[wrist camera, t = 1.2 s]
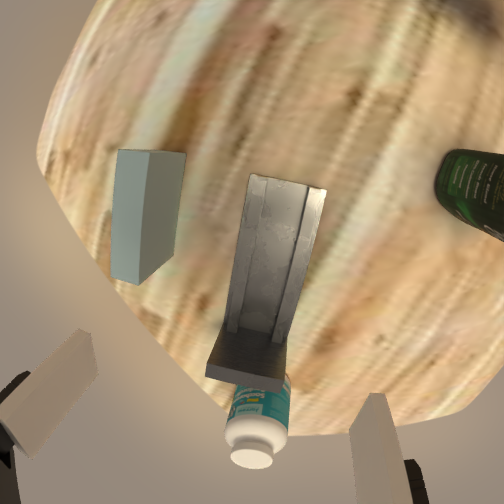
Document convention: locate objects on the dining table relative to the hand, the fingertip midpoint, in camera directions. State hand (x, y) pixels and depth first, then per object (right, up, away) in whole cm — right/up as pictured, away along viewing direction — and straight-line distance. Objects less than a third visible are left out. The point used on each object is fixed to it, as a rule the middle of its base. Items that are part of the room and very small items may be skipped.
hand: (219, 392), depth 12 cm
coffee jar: (+27, +14, +15) cm, 34 cm away
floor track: (+3, +4, +21) cm, 22 cm away
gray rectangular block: (-8, +12, +20) cm, 25 cm away
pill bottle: (+3, -12, +27) cm, 30 cm away
